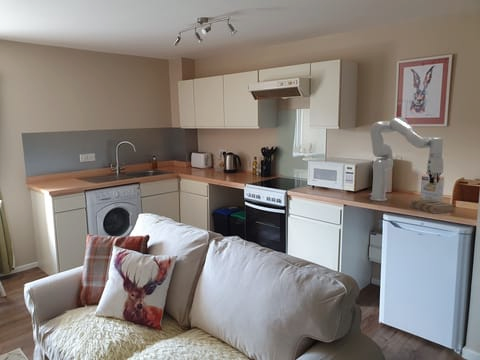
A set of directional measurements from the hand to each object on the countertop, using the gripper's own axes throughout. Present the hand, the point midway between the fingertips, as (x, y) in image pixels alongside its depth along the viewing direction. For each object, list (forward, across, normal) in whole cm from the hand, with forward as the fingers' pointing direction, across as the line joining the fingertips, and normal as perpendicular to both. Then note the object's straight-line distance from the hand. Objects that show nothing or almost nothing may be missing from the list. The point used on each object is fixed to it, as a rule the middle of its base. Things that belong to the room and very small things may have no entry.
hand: (433, 182), depth 248 cm
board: (+19, 0, +1) cm, 19 cm away
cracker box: (+19, +15, +16) cm, 29 cm away
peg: (+2, 0, 0) cm, 2 cm away
